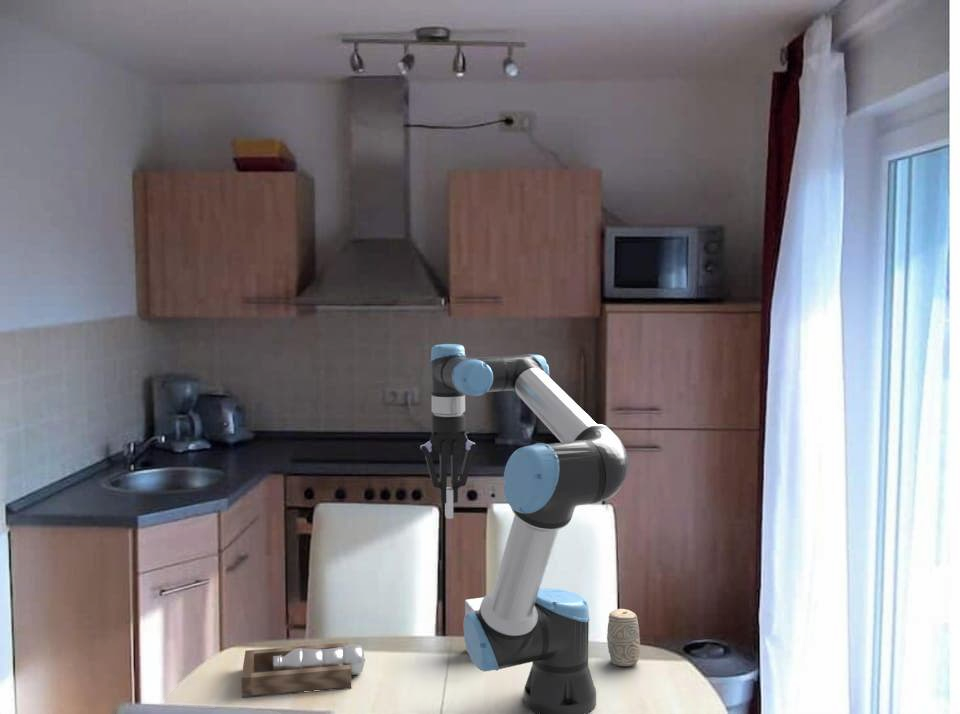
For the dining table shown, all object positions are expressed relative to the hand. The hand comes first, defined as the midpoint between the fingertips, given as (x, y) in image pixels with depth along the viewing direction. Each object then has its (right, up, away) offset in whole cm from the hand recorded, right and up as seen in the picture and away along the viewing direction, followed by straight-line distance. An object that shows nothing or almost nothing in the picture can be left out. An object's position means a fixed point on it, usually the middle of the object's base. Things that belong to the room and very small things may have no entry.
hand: (449, 516), depth 212 cm
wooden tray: (-33, -35, -4) cm, 49 cm away
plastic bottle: (-19, -31, -2) cm, 37 cm away
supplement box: (+8, -34, +8) cm, 36 cm away
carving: (+40, -34, +3) cm, 53 cm away
